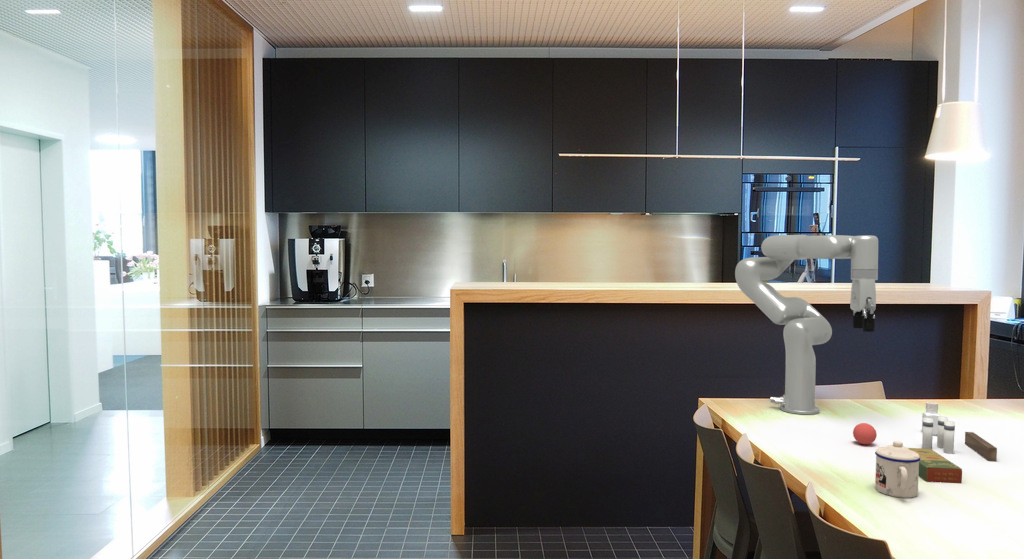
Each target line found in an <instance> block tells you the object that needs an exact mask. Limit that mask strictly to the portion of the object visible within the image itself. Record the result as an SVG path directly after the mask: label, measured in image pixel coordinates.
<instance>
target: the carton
mask: <svg viewBox="0 0 1024 559" xmlns="http://www.w3.org/2000/svg"><path fill="white" fill-rule="evenodd" d="M907 448H908V449H909V450H911V451H914V452H916V453H918V454H919V456H920V461H919V476H918V478H920V479H921V480H922V481H924V482H925V483H940V482H941V483H942V484H944V483H946V484H962V481H963V469H962V468H961V467H959V466H958V465H957V464H955V463H954V462H951V461H950V460H949V459H947V458H946V457H944V456H942V455H941V454H939V453H938V452H936V451H934V450H933V448H932V449H923V448H922V447H921V448H918V447H907Z"/></svg>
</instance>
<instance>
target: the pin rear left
mask: <svg viewBox="0 0 1024 559" xmlns="http://www.w3.org/2000/svg"><path fill="white" fill-rule="evenodd" d="M944 421H949V417H948V416H942V415H940V416H939V417H938V435H937V441H936V448H938V449H939V448H940V449H943V445H944Z"/></svg>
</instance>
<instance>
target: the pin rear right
mask: <svg viewBox="0 0 1024 559" xmlns="http://www.w3.org/2000/svg"><path fill="white" fill-rule="evenodd" d="M955 423H956V422H955V421H953V420H948V421H944V445H943V448H942V449H943V451H942V452H943V453H944V454H948V455H949V454H950V455H952V454H954V452H955V450H954V449H955V429H956V424H955Z"/></svg>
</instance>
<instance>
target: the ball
mask: <svg viewBox="0 0 1024 559" xmlns="http://www.w3.org/2000/svg"><path fill="white" fill-rule="evenodd" d="M877 434H878V433H877V431H876V429H875V427H874V426H873V425H871V424H869V423H866V422H862V423H858V424H856V425H855V426H854V428H853V431H852V435H853V438H854V439H855V440H856V442H857V443H858V444H860V445H865V446H866V445H871V444H873V443H874V442H875V441H876V439H877Z"/></svg>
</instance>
